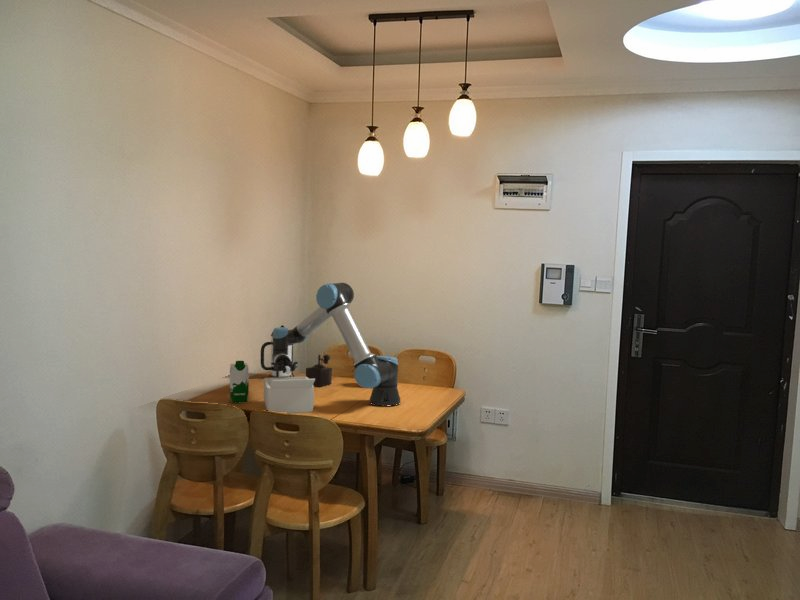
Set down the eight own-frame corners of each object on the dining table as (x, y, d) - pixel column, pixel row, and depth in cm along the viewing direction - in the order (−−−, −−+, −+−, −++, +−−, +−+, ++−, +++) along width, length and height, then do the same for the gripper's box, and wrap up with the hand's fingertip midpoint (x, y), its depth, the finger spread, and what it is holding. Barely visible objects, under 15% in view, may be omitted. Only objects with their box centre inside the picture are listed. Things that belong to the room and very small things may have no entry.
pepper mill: (304, 385, 361) (304, 352, 359) (317, 381, 370) (317, 349, 369) (326, 389, 353) (327, 355, 351) (339, 385, 362) (340, 353, 360)
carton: (263, 402, 321) (263, 377, 320) (306, 400, 327) (307, 376, 326) (267, 414, 300) (267, 388, 298) (313, 412, 305) (314, 386, 304)
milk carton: (230, 404, 316) (230, 362, 315) (228, 399, 325) (228, 359, 323) (249, 402, 319) (249, 361, 318) (247, 398, 328) (247, 358, 326)
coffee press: (274, 373, 388) (275, 322, 386) (299, 376, 383) (300, 324, 381) (259, 379, 372) (260, 326, 369) (285, 382, 367) (286, 328, 364)
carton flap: (272, 379, 289) (272, 381, 289) (314, 378, 294) (315, 379, 294) (270, 387, 299) (270, 388, 299) (311, 386, 304) (311, 387, 304)
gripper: (295, 369, 330) (302, 379, 308) (269, 369, 327) (274, 380, 304) (295, 354, 330) (303, 363, 307) (269, 354, 326) (274, 363, 303)
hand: (288, 371), depth 306 cm, fingers closed
